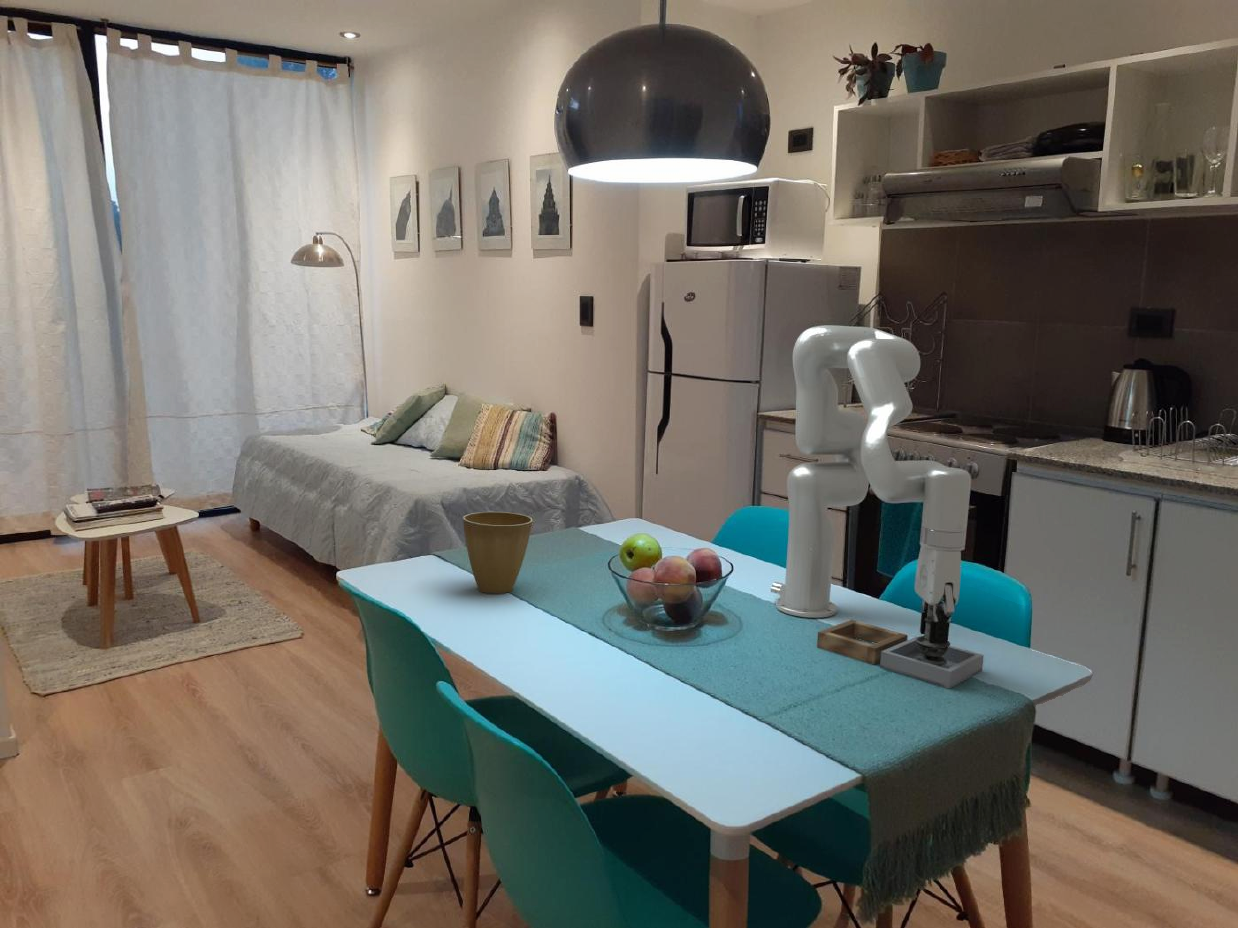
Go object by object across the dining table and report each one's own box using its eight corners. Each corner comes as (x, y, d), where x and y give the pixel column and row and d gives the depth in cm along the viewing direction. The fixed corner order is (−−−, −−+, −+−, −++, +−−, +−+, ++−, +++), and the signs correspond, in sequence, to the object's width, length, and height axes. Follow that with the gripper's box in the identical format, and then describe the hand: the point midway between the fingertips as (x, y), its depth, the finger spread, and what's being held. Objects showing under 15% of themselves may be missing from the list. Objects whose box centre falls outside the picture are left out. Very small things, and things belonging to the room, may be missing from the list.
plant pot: (503, 603, 203) (505, 528, 201) (447, 590, 211) (448, 518, 208) (543, 587, 216) (545, 517, 214) (489, 576, 224) (491, 508, 221)
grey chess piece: (955, 663, 173) (962, 597, 172) (933, 668, 170) (939, 601, 168) (929, 652, 178) (935, 589, 176) (907, 657, 175) (912, 593, 173)
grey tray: (879, 667, 174) (881, 651, 174) (915, 651, 184) (916, 636, 183) (948, 688, 165) (950, 671, 165) (982, 670, 175) (983, 654, 174)
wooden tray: (816, 647, 184) (818, 631, 183) (850, 634, 192) (851, 619, 192) (873, 664, 176) (875, 648, 175) (906, 650, 184) (907, 634, 184)
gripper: (907, 527, 179) (898, 623, 182) (937, 548, 163) (927, 654, 165) (947, 528, 179) (938, 624, 182) (982, 550, 163) (971, 655, 165)
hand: (933, 637), depth 174 cm, fingers closed on grey chess piece, 4 cm apart
